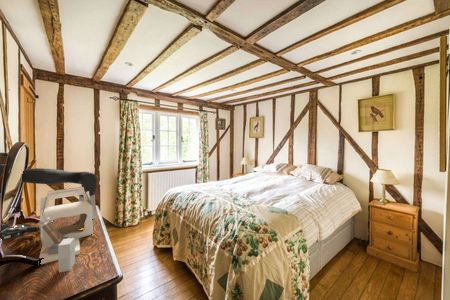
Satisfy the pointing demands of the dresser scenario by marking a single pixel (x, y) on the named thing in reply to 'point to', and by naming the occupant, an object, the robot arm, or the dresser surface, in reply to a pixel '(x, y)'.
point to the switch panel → (55, 256)
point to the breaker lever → (51, 230)
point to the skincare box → (66, 254)
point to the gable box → (67, 214)
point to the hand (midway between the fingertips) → (38, 229)
